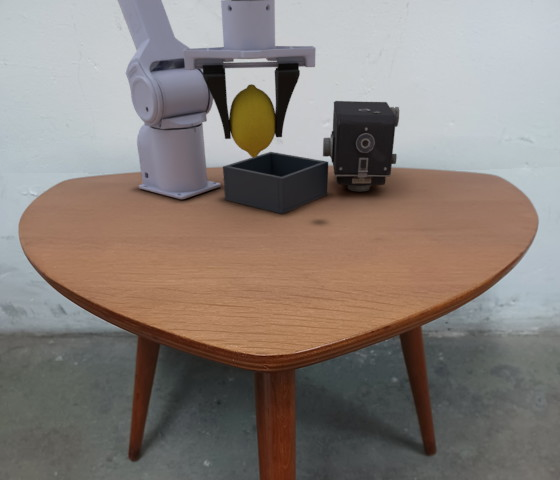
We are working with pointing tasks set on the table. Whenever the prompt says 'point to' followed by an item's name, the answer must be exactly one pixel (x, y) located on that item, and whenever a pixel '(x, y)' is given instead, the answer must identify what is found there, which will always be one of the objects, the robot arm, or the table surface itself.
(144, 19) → the robot arm
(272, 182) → the bin
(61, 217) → the table surface
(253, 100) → the lemon
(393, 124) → the camera
